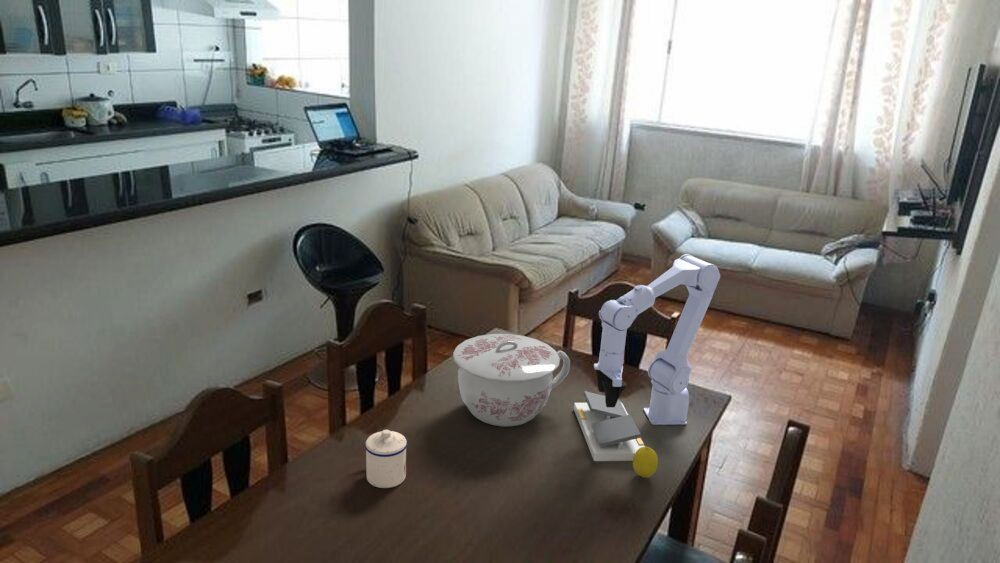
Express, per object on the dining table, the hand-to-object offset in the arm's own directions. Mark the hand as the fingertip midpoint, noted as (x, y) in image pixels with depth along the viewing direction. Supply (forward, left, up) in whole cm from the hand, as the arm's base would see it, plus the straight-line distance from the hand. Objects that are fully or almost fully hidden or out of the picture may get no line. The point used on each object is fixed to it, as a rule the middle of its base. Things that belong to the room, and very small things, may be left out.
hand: (606, 398), depth 173 cm
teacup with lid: (+54, +16, -10) cm, 57 cm away
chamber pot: (+24, -10, -10) cm, 28 cm away
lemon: (-5, +19, -10) cm, 22 cm away
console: (-1, 0, -10) cm, 10 cm away
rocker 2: (-1, +6, -6) cm, 9 cm away
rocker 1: (-1, -6, -6) cm, 9 cm away
